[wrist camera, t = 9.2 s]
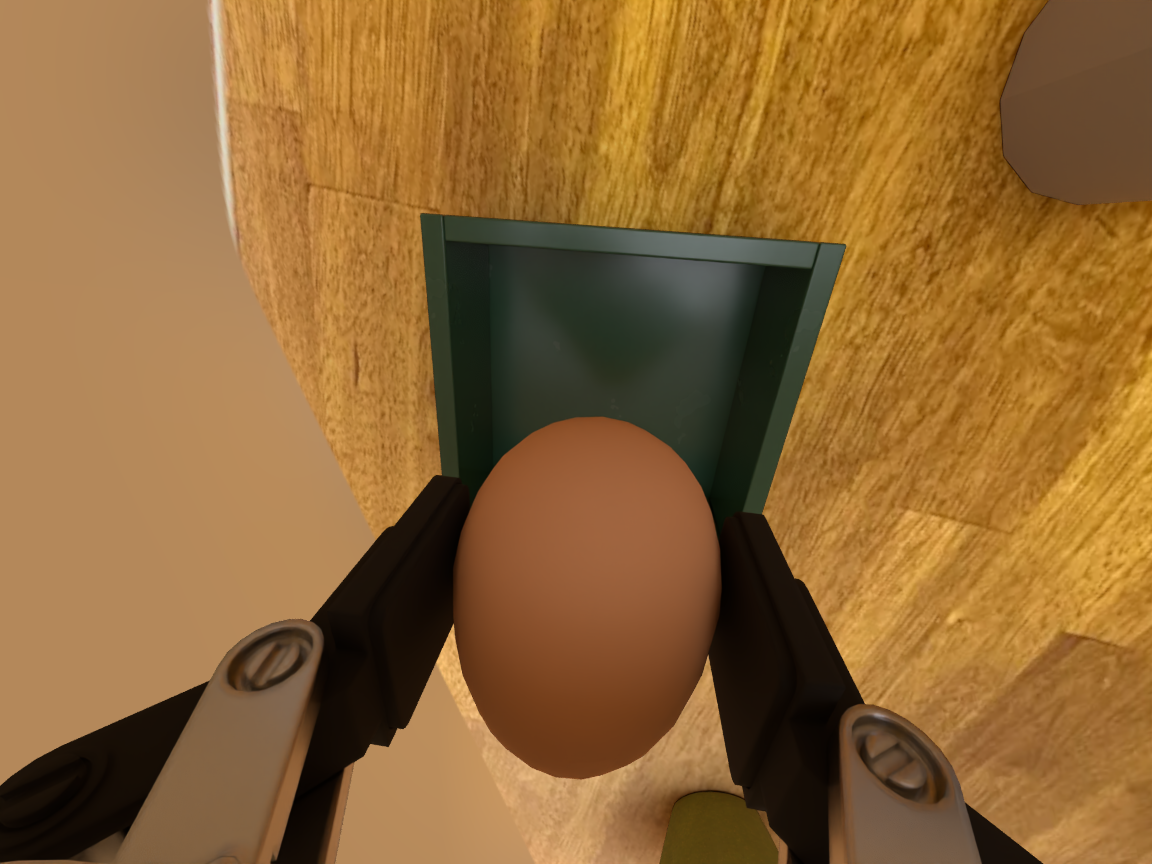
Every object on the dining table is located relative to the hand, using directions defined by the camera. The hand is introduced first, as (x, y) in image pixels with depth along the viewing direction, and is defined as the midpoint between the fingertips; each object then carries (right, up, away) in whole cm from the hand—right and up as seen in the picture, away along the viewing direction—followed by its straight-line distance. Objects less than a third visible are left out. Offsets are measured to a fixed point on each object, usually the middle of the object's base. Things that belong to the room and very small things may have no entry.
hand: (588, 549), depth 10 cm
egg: (0, +2, +4) cm, 4 cm away
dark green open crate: (+1, +5, +12) cm, 13 cm away
